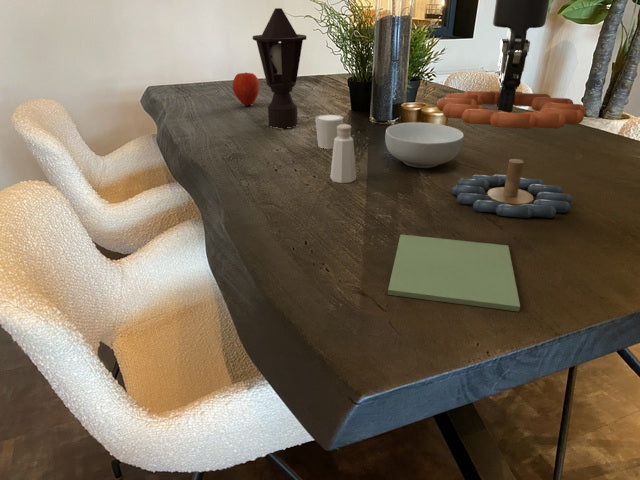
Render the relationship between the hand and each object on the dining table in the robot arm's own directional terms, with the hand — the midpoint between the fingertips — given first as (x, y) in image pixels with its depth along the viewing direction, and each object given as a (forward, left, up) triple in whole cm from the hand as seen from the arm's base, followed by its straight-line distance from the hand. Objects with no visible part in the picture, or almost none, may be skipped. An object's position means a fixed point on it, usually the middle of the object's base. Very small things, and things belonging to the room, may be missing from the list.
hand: (503, 109), depth 80 cm
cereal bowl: (+13, -22, -17) cm, 31 cm away
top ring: (0, +7, +1) cm, 7 cm away
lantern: (+53, -46, -17) cm, 72 cm away
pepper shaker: (+28, -8, -17) cm, 34 cm away
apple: (+72, -67, -17) cm, 100 cm away
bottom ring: (-4, -4, -17) cm, 18 cm away
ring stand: (-4, -4, -17) cm, 18 cm away
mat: (+6, +24, -17) cm, 30 cm away
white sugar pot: (+36, -30, -17) cm, 50 cm away
